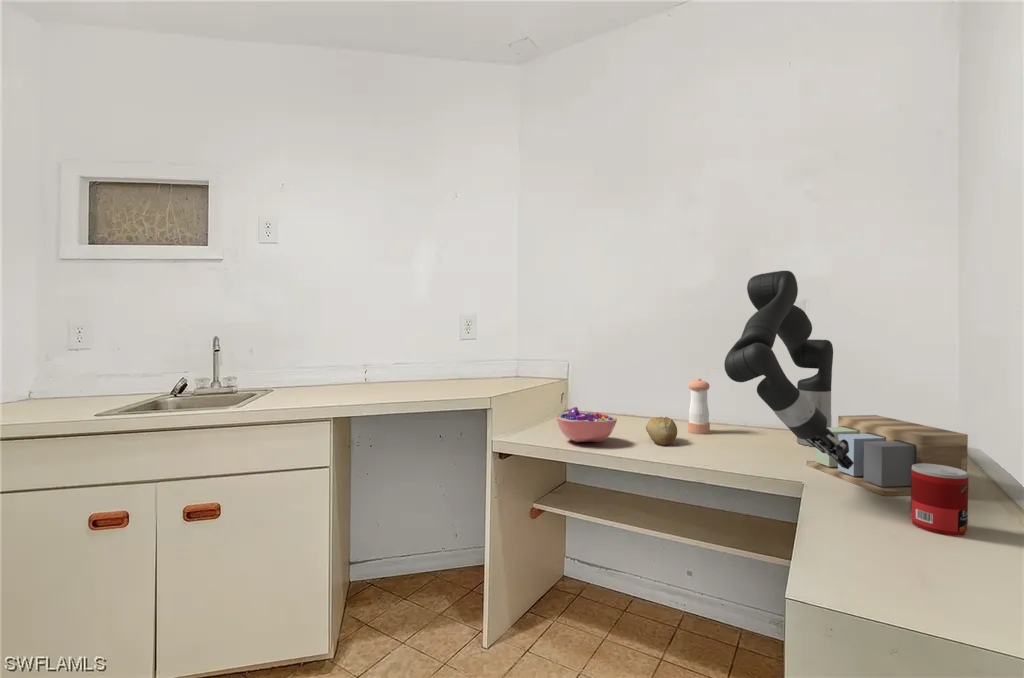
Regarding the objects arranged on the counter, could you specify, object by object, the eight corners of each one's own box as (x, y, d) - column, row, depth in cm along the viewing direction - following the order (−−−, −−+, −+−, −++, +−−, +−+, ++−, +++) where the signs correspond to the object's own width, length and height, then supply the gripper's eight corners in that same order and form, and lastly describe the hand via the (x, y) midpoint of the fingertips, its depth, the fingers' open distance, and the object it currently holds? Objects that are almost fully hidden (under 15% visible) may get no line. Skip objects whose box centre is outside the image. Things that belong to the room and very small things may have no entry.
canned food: (972, 540, 86) (973, 477, 86) (913, 530, 90) (914, 470, 90) (961, 525, 93) (962, 467, 92) (907, 516, 97) (908, 461, 97)
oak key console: (806, 464, 133) (807, 416, 133) (875, 462, 135) (875, 415, 135) (884, 495, 109) (885, 436, 108) (966, 492, 111) (967, 434, 110)
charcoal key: (863, 479, 116) (864, 441, 115) (902, 478, 117) (903, 440, 116) (881, 486, 111) (881, 446, 110) (922, 485, 112) (922, 445, 111)
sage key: (815, 461, 132) (815, 427, 131) (850, 460, 132) (850, 427, 132) (829, 466, 127) (829, 431, 126) (865, 465, 127) (865, 430, 127)
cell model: (612, 450, 150) (612, 413, 150) (549, 445, 157) (549, 410, 157) (620, 438, 166) (620, 405, 165) (562, 434, 173) (562, 402, 172)
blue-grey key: (837, 470, 124) (838, 434, 123) (874, 468, 125) (875, 433, 124) (853, 476, 119) (853, 438, 118) (891, 474, 120) (892, 437, 119)
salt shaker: (713, 434, 172) (713, 379, 172) (692, 434, 172) (692, 379, 172) (705, 429, 179) (705, 377, 179) (685, 429, 179) (685, 377, 179)
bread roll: (670, 436, 169) (670, 413, 169) (682, 447, 154) (682, 421, 154) (642, 436, 170) (642, 413, 170) (651, 446, 155) (651, 421, 155)
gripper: (831, 406, 105) (883, 461, 106) (790, 397, 118) (837, 446, 119) (807, 431, 104) (860, 486, 106) (769, 419, 118) (816, 469, 119)
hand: (848, 465), depth 113 cm, fingers closed
